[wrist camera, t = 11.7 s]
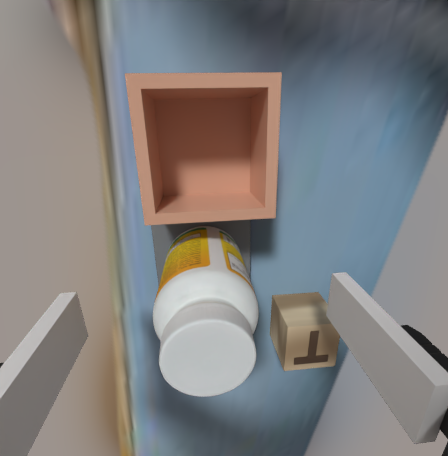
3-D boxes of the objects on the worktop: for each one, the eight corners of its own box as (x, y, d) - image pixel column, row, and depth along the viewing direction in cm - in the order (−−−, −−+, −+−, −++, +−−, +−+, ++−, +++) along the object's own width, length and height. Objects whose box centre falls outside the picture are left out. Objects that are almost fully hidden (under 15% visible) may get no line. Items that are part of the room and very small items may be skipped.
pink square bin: (144, 90, 16) (124, 73, 12) (257, 89, 17) (281, 72, 12) (157, 202, 19) (144, 225, 14) (255, 197, 19) (275, 217, 15)
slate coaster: (151, 216, 19) (150, 218, 18) (248, 210, 20) (250, 213, 19) (161, 299, 21) (160, 304, 21) (248, 292, 22) (249, 297, 21)
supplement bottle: (247, 232, 20) (293, 318, 10) (228, 294, 21) (253, 414, 12) (174, 216, 19) (155, 295, 10) (159, 282, 20) (131, 403, 11)
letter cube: (272, 294, 22) (288, 328, 19) (317, 291, 23) (342, 323, 19) (269, 334, 24) (284, 373, 20) (312, 330, 24) (335, 368, 20)
